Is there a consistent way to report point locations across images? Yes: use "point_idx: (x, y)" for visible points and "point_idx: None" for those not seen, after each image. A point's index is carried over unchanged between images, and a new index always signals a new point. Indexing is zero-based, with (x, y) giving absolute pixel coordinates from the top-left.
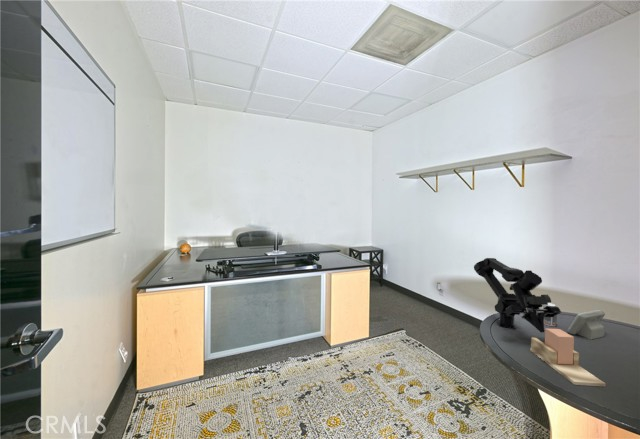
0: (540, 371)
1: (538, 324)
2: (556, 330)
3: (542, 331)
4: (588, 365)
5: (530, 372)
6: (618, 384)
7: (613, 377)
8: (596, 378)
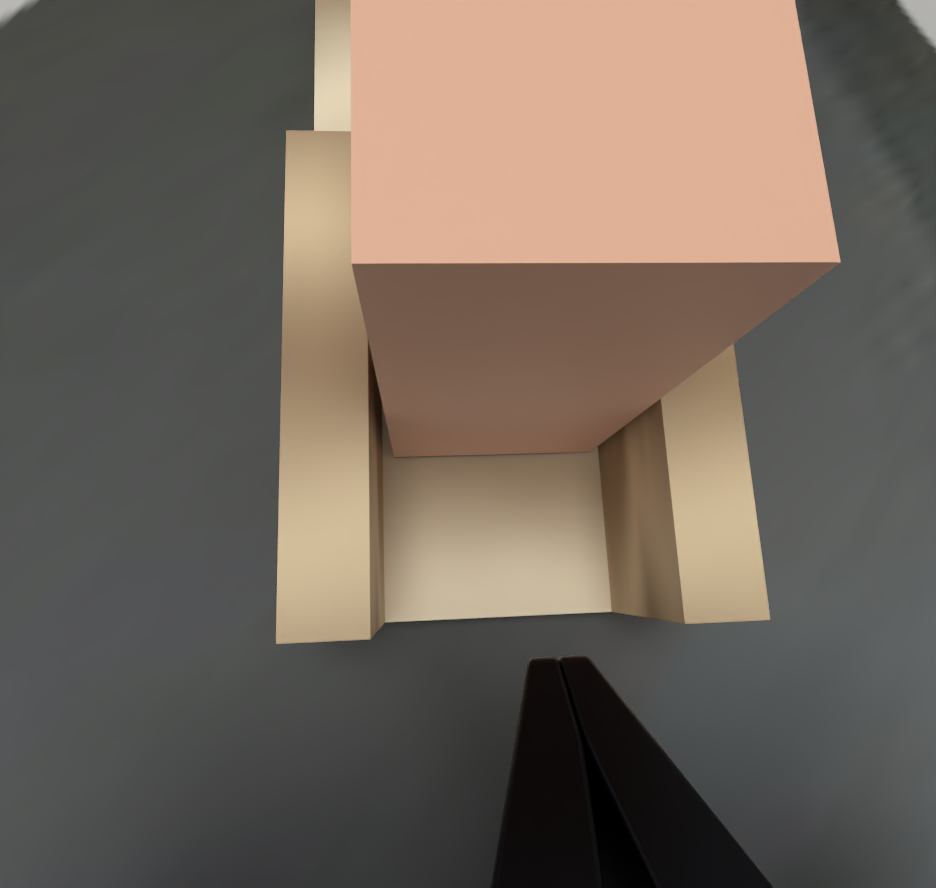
0: None
1: (703, 824)
2: (556, 146)
3: (582, 658)
4: (132, 334)
5: (911, 150)
6: (145, 36)
7: (68, 136)
8: (332, 36)
